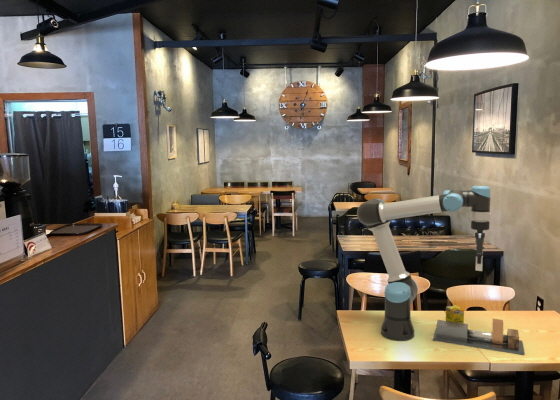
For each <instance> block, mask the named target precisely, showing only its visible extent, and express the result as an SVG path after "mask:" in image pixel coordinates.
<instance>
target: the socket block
mask: <svg viewBox="0 0 560 400" xmlns="http://www.w3.org/2000/svg"><path fill="white" fill-rule="evenodd" d="M506 333H507V334H506V335H508V348H512V349H519V340H520V335H519V329H516V328H515V329H513V328H507V330H506Z"/></svg>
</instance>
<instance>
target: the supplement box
mask: <svg viewBox="0 0 560 400" xmlns="http://www.w3.org/2000/svg"><path fill="white" fill-rule="evenodd" d="M445 321H450V322H458V323H465V322H464V321H465V309H464V308H462V307H460V306H458V305H457V304H456V305H455V304H454V305H448V306H445Z"/></svg>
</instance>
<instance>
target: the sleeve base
mask: <svg viewBox="0 0 560 400" xmlns="http://www.w3.org/2000/svg"><path fill="white" fill-rule="evenodd" d="M468 324H469V323H465V322H464V323H458V322H450V321H446V320H442V319H437V321H436V324H435V329H434V334H433V338H432V341H433V342H439V343H446V344H452V345H457V346H458V345H459V346H465V347H470V348H471V347H472V348H477V349H484V350H489V351H495V352H496V351H497V352H502V353H508V354H514V355H521V356H525V347H524V343H523V340H520V339H519V349H512V348H508V344H506V343H503V345H502V344H496V343H492V341H487V340H480V339H474V338H467V329H469V327H468V326H469V325H468Z"/></svg>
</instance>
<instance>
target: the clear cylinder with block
mask: <svg viewBox="0 0 560 400" xmlns="http://www.w3.org/2000/svg"><path fill="white" fill-rule="evenodd" d="M491 330H492V331H491V332H490V331H489V332H488V331H482V330H474V329H469V328H468V329H467V338H474V339H480V340H487V341H492V343H496V344H502V345H503V343H506V344H508V335H507V334H504V320H503V319H501V318H500V319H498V318H492V329H491Z"/></svg>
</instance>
